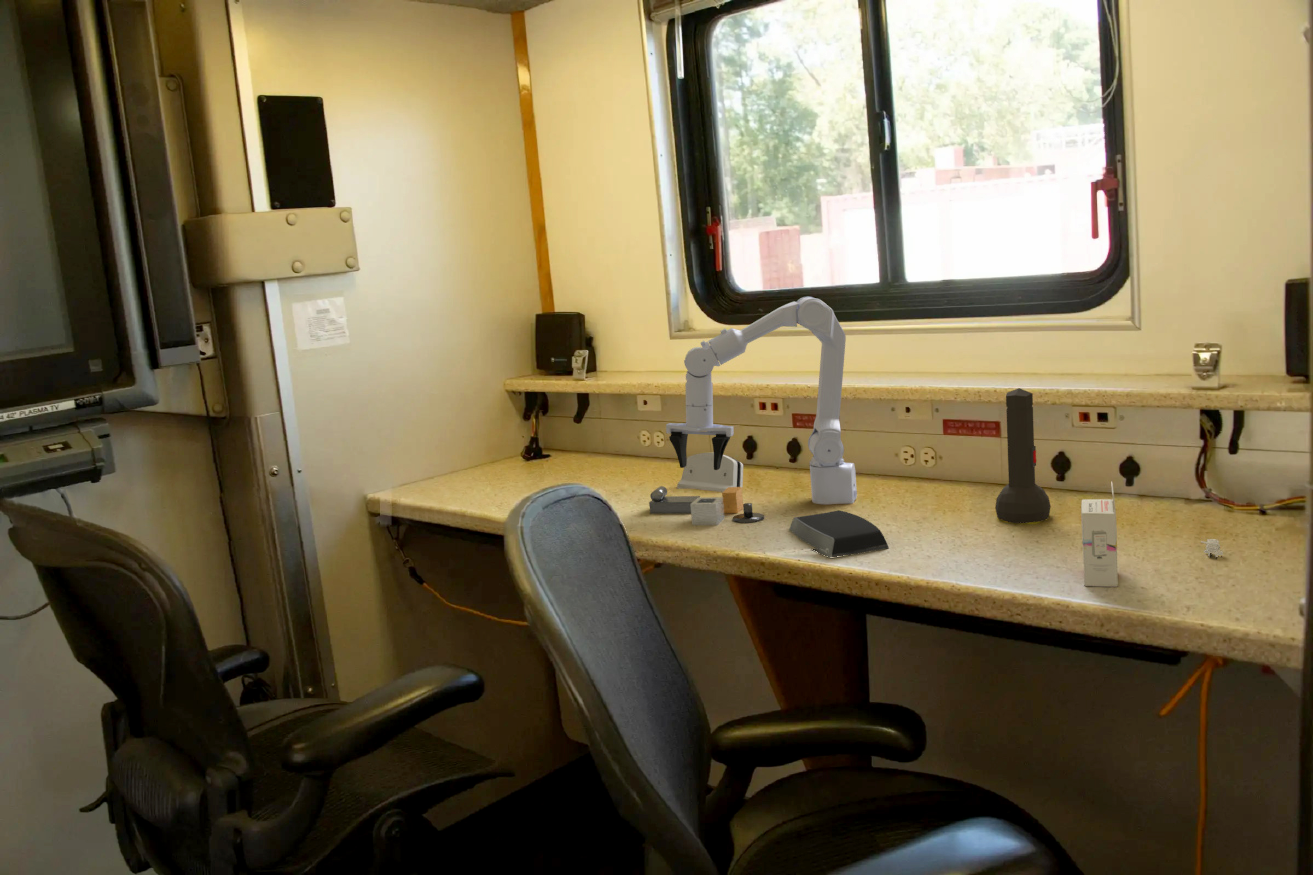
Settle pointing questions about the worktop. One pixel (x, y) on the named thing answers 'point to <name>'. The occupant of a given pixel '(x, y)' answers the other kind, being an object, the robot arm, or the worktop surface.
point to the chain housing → (670, 503)
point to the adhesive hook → (1212, 547)
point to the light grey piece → (711, 473)
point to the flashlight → (1021, 465)
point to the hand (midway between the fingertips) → (700, 468)
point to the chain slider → (732, 499)
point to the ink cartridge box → (1099, 541)
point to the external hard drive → (838, 533)
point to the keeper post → (748, 515)
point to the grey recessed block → (707, 511)
